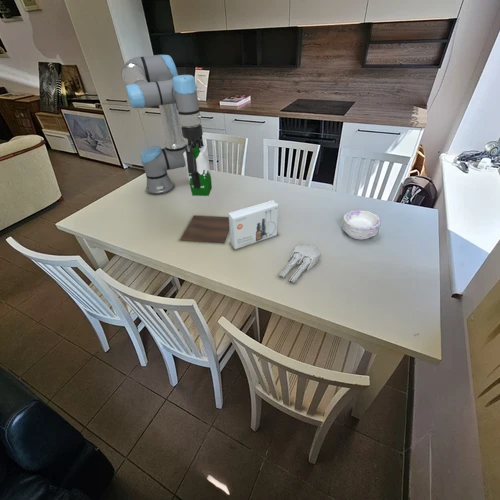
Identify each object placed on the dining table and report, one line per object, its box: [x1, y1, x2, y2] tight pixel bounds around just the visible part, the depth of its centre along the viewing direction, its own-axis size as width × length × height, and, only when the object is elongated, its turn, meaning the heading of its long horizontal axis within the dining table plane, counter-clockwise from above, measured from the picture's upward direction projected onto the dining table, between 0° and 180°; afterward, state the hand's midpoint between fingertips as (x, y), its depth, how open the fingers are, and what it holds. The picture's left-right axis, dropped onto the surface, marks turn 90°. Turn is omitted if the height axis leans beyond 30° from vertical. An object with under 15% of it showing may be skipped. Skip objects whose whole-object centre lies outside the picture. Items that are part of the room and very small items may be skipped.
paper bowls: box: [341, 209, 382, 240], centre depth 120 cm, size 15×15×8 cm
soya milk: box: [183, 146, 213, 197], centre depth 113 cm, size 9×9×20 cm
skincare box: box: [227, 199, 280, 250], centre depth 118 cm, size 21×6×16 cm, turn 117°
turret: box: [278, 244, 322, 284], centre depth 107 cm, size 10×20×5 cm, turn 141°
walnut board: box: [179, 215, 230, 244], centre depth 130 cm, size 20×20×1 cm
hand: (200, 182), depth 116 cm, fingers closed on soya milk, 9 cm apart
